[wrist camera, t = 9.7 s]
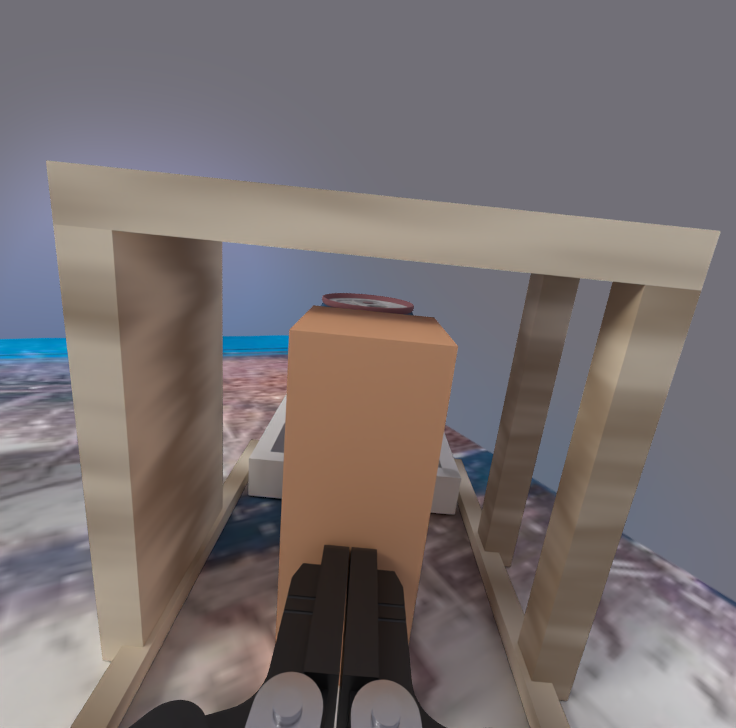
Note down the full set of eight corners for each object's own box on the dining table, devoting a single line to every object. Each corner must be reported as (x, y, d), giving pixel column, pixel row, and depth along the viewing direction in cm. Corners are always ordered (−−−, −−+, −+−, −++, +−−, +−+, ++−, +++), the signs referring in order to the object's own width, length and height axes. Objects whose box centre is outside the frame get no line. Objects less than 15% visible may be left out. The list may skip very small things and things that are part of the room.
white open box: (525, 751, 13) (641, 367, 9) (136, 718, 13) (101, 313, 9) (428, 426, 37) (450, 279, 33) (289, 412, 36) (296, 264, 33)
